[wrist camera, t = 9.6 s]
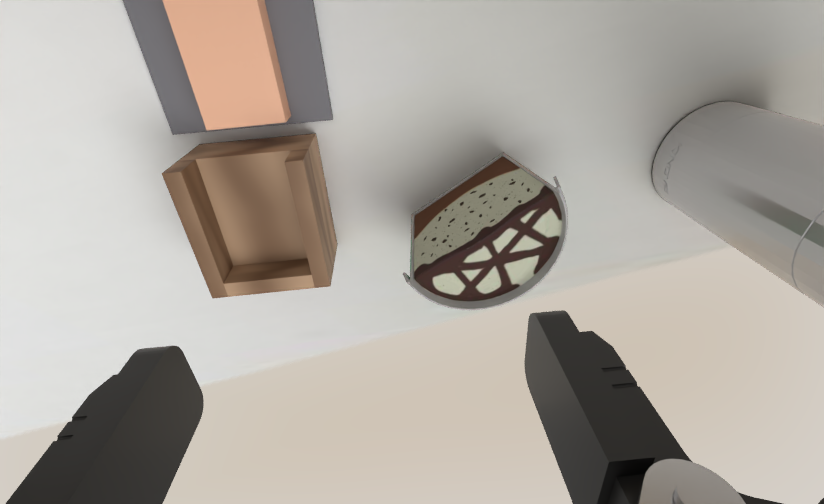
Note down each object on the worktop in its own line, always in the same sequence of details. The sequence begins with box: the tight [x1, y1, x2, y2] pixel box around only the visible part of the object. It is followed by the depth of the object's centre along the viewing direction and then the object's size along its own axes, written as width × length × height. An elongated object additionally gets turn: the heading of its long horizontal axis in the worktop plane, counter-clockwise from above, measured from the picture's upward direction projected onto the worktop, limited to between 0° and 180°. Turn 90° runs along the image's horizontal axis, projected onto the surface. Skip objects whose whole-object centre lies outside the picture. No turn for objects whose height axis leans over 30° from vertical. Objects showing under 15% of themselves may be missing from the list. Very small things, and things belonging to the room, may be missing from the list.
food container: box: [403, 152, 568, 310], centre depth 32 cm, size 12×6×10 cm, turn 126°
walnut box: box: [162, 134, 337, 298], centre depth 32 cm, size 9×10×6 cm
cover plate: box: [163, 0, 291, 130], centre depth 27 cm, size 6×12×2 cm, turn 5°
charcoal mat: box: [123, 0, 333, 135], centre depth 28 cm, size 12×13×1 cm
